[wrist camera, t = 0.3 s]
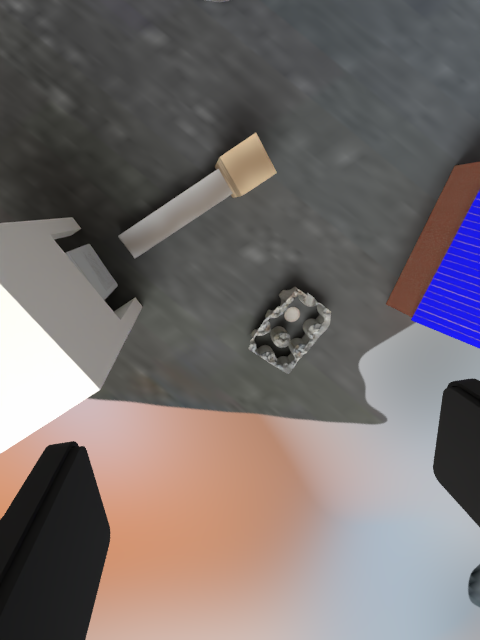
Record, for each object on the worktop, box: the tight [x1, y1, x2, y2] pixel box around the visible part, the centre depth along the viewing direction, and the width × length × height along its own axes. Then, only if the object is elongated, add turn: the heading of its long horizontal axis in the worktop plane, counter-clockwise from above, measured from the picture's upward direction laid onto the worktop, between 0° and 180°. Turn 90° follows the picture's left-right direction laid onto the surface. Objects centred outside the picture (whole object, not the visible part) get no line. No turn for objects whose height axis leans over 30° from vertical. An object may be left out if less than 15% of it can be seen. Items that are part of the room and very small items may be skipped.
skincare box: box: [65, 244, 118, 300], centre depth 37 cm, size 6×6×7 cm
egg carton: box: [248, 287, 331, 374], centre depth 44 cm, size 11×8×4 cm
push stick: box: [118, 133, 277, 258], centre depth 35 cm, size 4×18×8 cm, turn 121°
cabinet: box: [0, 217, 143, 453], centre depth 31 cm, size 14×9×20 cm, turn 32°
